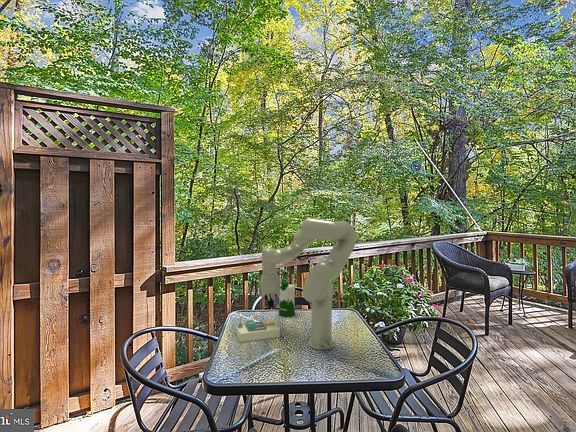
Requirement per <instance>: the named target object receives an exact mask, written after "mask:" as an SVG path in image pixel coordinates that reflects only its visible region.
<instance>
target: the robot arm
mask: <svg viewBox="0 0 576 432" xmlns="http://www.w3.org/2000/svg"><path fill="white" fill-rule="evenodd" d="M300 225H301V226H300V229H299V230H298V231H296V232H295V233H294V235H293V239H294V240H293V241H292V242H291V243H290V244H288V245H287V246H286V247H281V248H276V249H275V248H274V247H273V248H272V247H267V248H263V249H262V250H261V268H262V269H261V271H262V274H261V275H260V279H259V293H260V297H261V298H265V299H266V301H267V307H268V308H270V309H274V306H275V299H276V298H277V297H279V295H281V293H280V285H281V282H280V276H279V274H278V273H280V269H279V268H277V266H278V265H279V264H280V265H281V264H284V263H288V262H291V261H293V260H294V259H296V258H297V257H298V256H300V255H302V253H303V252H304V251H305V250H306V248H307V247H308V246H310V245H311V244H312V243H313V242H315V241H316V240H323V241H327V242H336V243H335V244H334V246H332V247H331V250H330V252H329V254H328V255H327V257H326V258H325V259H324V260H321V261H319V262H317V263H316V264H315V265H314V266H313V267H312V269H311V271H310V273H309V275H308V276H307V279H306V281H305V283H304V284H303V288H302V296H303V299H305V301H306V302H309V303H311V314H310V315H311V319H310V320H311V325H310V326H311V328H310V329H311V332H310V333H311V338H310V339H308V341H307V344H308V346H309V347H310V348H312V349H315V350H319V351H320V350H321V351H326V350H331V349H333V348H334V347H335V346H336V341H334V339H333V338H332V336H333V335H332V334H333V332H332V330H333V329H332V327H333V325H332V324H333V323H332V322H333V321H332V317H333V316H332V315H333V314H332V312H333V308H332V307H333V297H334V285H333V283H332V281H334V280H336V279H337V278H339V276H341V274H342V271H343V270H344V267H345V266H346V264H347V262H348V260H349V258H350V256H351V254H352V253H353V251H354V249H355V246H356V243H357V234H356V230H355V228H354V227H353V225H351V224H350V223H349V222H348V221H345V220H335V221H328V220H324V218H323V219H322V218H321V217H309V218H306V219H304V220H303V222H302V223H301V224H300Z"/></svg>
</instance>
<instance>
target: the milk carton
mask: <svg viewBox="0 0 576 432" xmlns="http://www.w3.org/2000/svg"><path fill="white" fill-rule="evenodd" d="M295 291H296V285H295V284H289V282H288V281H284V282H281V284H280V293H281V295H279V296H278V299H279V300H278V307H279V309H278V314H279V315H278V316H279V317H283V316H284V318H288V317H289V318H291V317H292V316H295V315H296V312H295V311H296V310H295Z"/></svg>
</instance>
